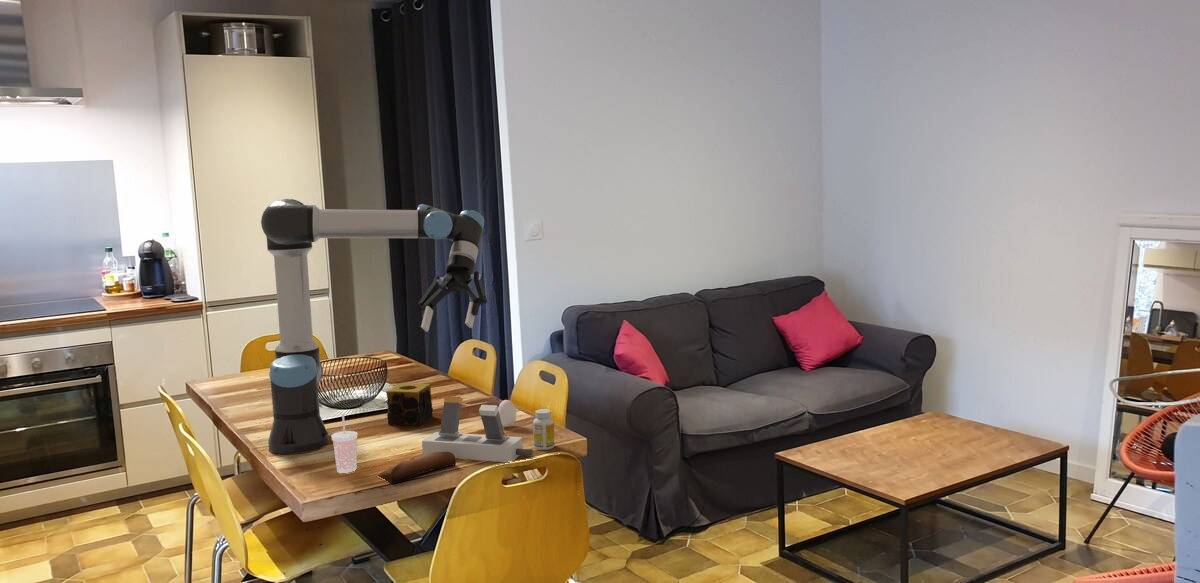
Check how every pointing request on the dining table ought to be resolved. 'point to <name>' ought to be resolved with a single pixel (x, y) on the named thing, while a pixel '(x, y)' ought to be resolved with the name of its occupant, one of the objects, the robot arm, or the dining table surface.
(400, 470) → the sunglasses case
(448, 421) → the switch orange
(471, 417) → the dining table surface
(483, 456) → the power strip
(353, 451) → the beverage cup
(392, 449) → the dining table surface
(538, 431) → the supplement bottle
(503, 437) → the switch white
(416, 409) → the candle
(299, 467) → the dining table surface
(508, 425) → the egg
